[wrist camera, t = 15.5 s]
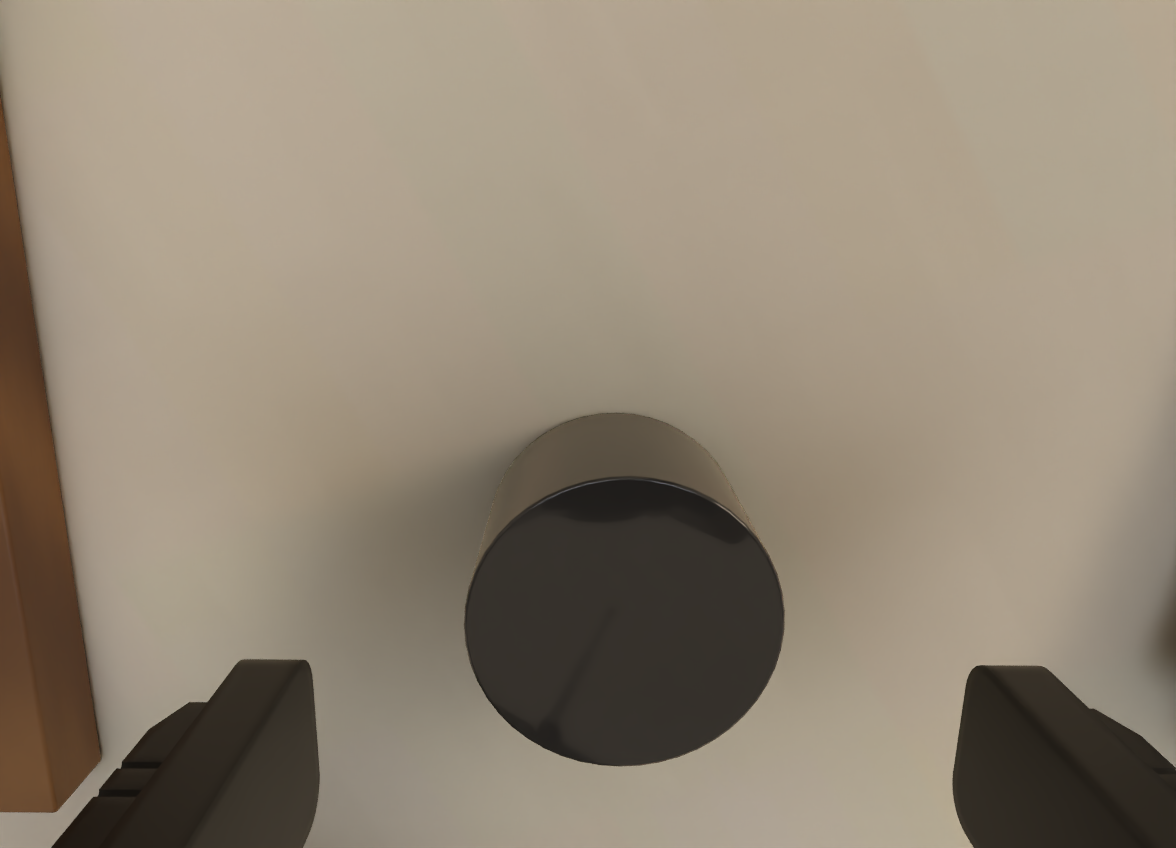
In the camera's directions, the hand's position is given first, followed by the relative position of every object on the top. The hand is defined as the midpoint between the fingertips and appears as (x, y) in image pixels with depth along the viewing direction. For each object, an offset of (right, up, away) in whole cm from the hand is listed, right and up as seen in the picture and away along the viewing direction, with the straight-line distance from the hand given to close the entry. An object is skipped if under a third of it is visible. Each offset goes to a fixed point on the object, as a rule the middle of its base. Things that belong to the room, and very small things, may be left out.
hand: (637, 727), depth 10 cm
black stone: (0, +2, +5) cm, 6 cm away
